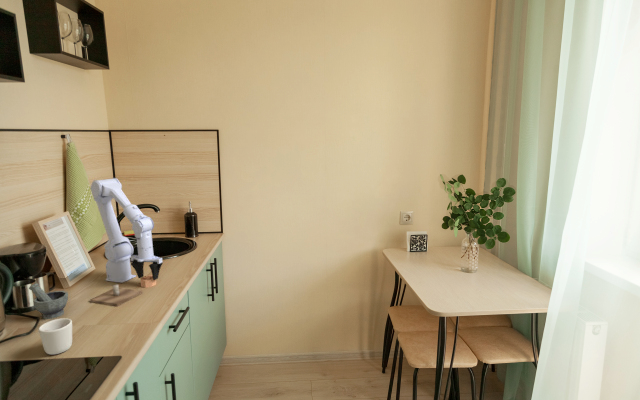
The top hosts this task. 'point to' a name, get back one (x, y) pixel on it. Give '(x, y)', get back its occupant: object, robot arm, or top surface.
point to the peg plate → (116, 296)
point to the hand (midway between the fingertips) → (148, 278)
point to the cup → (56, 335)
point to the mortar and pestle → (49, 302)
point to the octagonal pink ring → (147, 281)
